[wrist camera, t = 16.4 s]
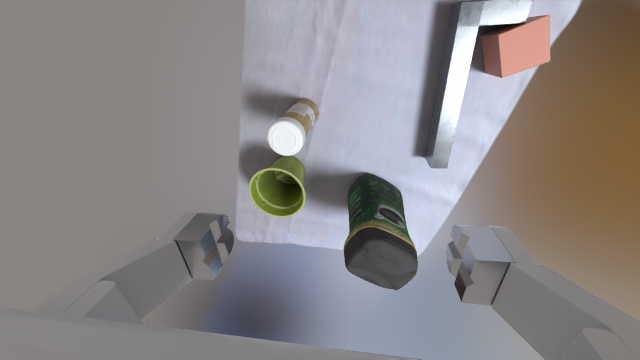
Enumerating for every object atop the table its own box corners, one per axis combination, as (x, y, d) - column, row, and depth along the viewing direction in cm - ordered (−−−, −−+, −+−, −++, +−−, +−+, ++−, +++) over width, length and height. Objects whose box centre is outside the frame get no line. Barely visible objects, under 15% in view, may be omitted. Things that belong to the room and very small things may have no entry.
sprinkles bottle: (316, 127, 43) (299, 160, 31) (290, 121, 43) (264, 152, 31) (321, 101, 40) (305, 126, 29) (294, 94, 41) (267, 117, 29)
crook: (451, 6, 32) (462, 2, 29) (514, 2, 31) (533, -3, 28) (425, 157, 43) (430, 168, 39) (471, 158, 42) (481, 169, 38)
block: (480, 35, 33) (498, 35, 29) (524, 18, 32) (549, 14, 28) (485, 73, 35) (502, 77, 31) (526, 58, 34) (550, 61, 30)
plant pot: (317, 152, 45) (308, 174, 38) (311, 195, 50) (302, 222, 42) (267, 142, 46) (248, 163, 38) (265, 186, 50) (248, 211, 43)
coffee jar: (341, 198, 49) (332, 275, 33) (363, 167, 45) (364, 237, 29) (383, 219, 50) (394, 304, 34) (408, 191, 46) (433, 271, 30)
